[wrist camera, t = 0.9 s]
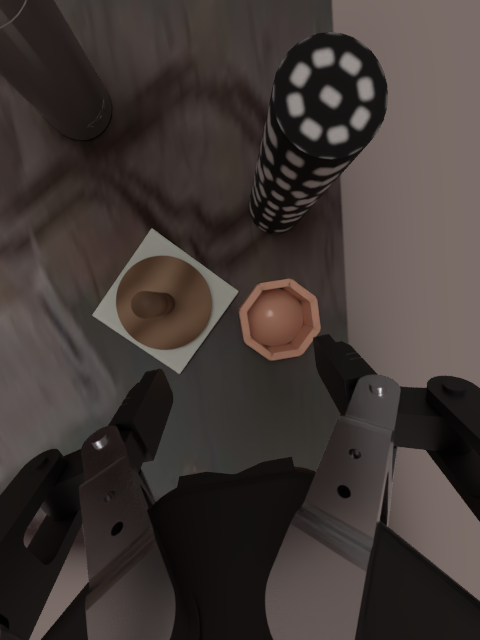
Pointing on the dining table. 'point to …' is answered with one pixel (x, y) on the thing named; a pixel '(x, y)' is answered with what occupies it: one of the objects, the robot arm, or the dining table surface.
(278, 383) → the dining table surface
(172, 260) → the walnut lid
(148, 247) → the rubber mat
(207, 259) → the dining table surface
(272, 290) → the terracotta bowl
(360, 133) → the spotted tube
